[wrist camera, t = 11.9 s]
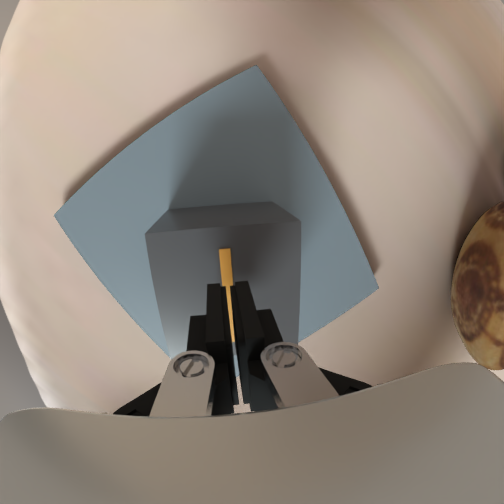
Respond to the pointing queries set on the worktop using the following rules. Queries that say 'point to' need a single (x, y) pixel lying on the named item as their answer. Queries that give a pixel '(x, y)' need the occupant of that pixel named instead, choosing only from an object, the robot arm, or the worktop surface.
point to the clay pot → (481, 290)
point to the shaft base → (218, 199)
